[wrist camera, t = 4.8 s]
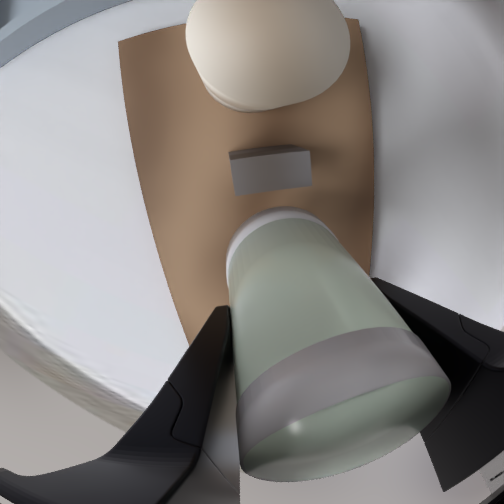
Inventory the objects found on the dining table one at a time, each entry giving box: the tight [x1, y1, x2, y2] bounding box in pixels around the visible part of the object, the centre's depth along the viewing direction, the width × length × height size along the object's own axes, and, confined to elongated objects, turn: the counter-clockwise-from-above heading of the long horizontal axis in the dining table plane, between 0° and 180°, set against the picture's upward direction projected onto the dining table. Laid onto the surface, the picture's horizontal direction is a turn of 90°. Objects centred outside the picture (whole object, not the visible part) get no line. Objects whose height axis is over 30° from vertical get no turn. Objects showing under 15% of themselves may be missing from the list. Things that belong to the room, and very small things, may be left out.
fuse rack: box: [118, 0, 374, 346], centre depth 12 cm, size 12×22×7 cm, turn 7°
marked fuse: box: [226, 206, 451, 482], centre depth 8 cm, size 4×4×8 cm
